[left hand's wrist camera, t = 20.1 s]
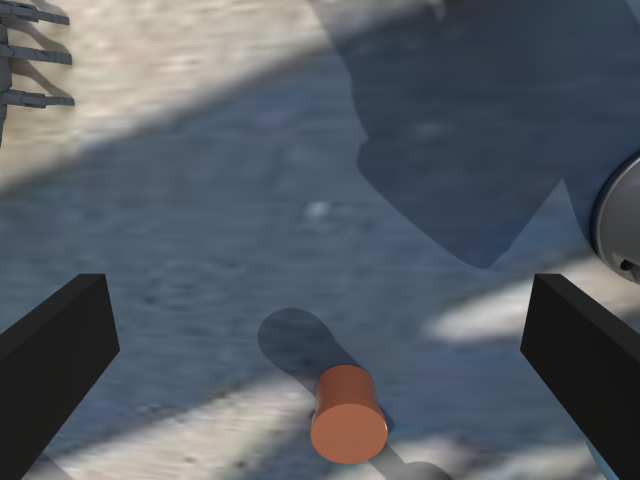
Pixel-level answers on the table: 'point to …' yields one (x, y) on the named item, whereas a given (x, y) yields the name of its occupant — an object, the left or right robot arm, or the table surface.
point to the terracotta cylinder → (347, 416)
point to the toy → (3, 80)
